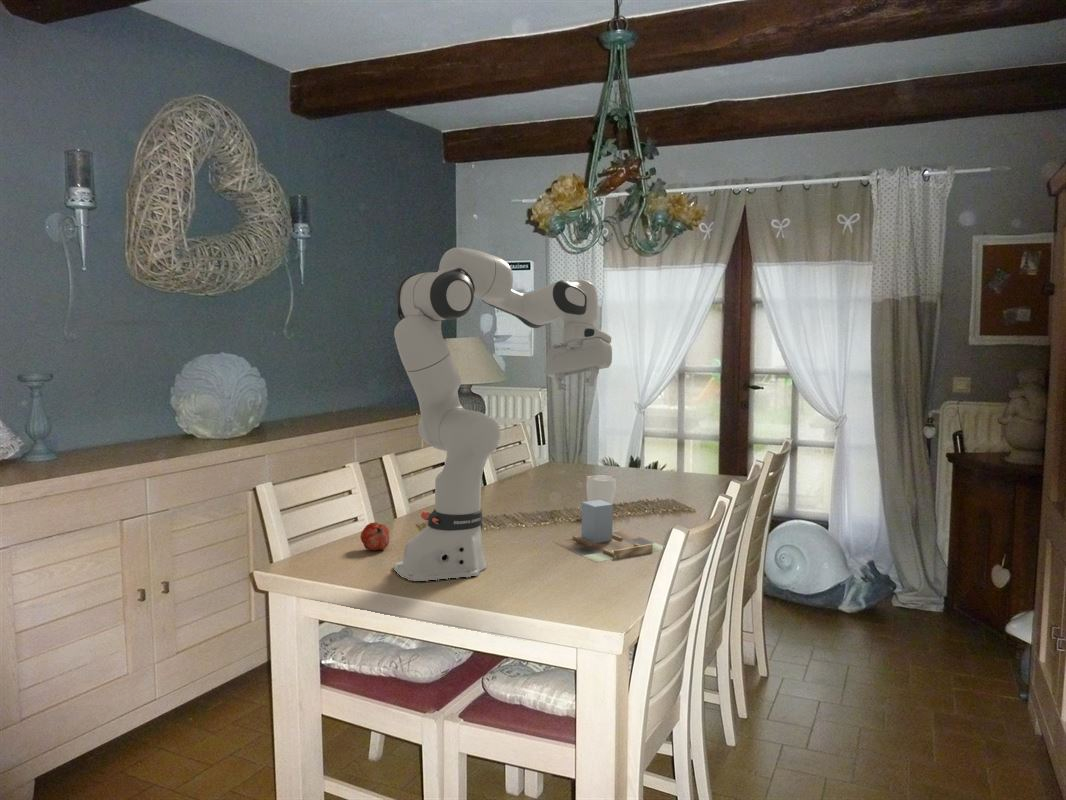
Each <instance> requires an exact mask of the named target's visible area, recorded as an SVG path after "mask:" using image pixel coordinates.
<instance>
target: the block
mask: <svg viewBox="0 0 1066 800" xmlns="http://www.w3.org/2000/svg"><path fill="white" fill-rule="evenodd" d="M613 507H614V503H613V504H610V503H608V502H605V501H602V500H595V501H588V500H587V501H582V502H581V534H580V537H581V538H583V539H585V540H587V541H590V542H592V543H599V542H606V541H612V532H613V517H614V515H613V514H614V513H613V512H614V511H613V509H614V508H613Z"/></svg>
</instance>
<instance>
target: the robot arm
mask: <svg viewBox="0 0 1066 800" xmlns="http://www.w3.org/2000/svg"><path fill="white" fill-rule="evenodd" d="M513 273H514V272H513V270H512V268H511V266H510V265H509V263H508V262H507V261H505V260H504V259H502V258H501V257H499V256H496V255H493V254H490V253H488V252H485V251H481V250H477V249H473V248H466V247H453V248H450V249H448V250H447V251H446V252H444V254H443V255H442V257H441V259H440V262H439V267H438V270H437V272H435V271H428V272H422V273H415V274H411V275H407V276H406V277H404V278H402V280H400V281H399V283H398V284H397V286H396V289H395V293H394V298H395V299H394V301H395V306H396V308H397V316H398V318H399V320H400V321H399V322H398V323H397V324H396V326H395V327H394V333H393V335H394V339H395V344H396V348H397V351H398V354H399V357H400V361H401V363H402V365H403V367H404V370H405V372H406V374H407V376H408V380H409V381H410V384H411V387H412V388H413V390H414V394H415V395H416V398H417V401H418V406H419V411H420V417H419V420H418V425H417V430H418V433H419V434H418V435H419V436H420V439H422V441H423V442H424V443H425V444H428V445H429V446H431V447H432V448H434V449H435V450H440V451H443V452H446V458H445V463H444V465H443V468H442V471H440V472H439V473H437V476H436V477H435V480H434V486H435V487H434V490H435V491H434V497H435V498H434V509H433V511H431V513H430V512H429V511H427V510H422V511H421V513H420V518H421V519H423V520H424V521H427V526H425V528H423V529H422V530H421V531H419V533H418V534H416V535H415V536H414V537H412V538H411V539H410V540H409V541H408V542H407V543H406V544H405V547H404V552H403V557H402V560H401V561H397V562H395V563H394V565H393V571H394V570H395V571H396V572H397V573H398V574H399V575H401V576H403V577H404V578H406V579H410V580H414V581H426V582H429V581H428V580H436V581H440V580H439V579H446V580H451V579H450V578H456V579H460V578H459V577H466V578H472V577H471V576H475V577H477V576H478V575H479V574H480V572H482V571H483V570H485V569H486V568H487V566H488V564H487V561H486V557H485V553H484V547H483V540H482V538H483V537H482V530H483V509H482V507H481V498H482V497H481V494H482V478H483V472H484V469H485V466H486V464H487V461H488V460H489V459H488V458H489V457H490V456H491V455H492V454H493V453H494V452H495V451H496V450H497V448H498V447H499V444H500V441H501V429H500V426H499V425H498V422H497V421H496V420H495V419H493V418H492V417H490V416H489V415H487V414H485V413H483V412H481V411H478V410H474V409H473V410H471V409H467V408H466V409H465V408H464V407H463V405H462V404H461V402H460V398H459V392H458V391H459V389H460V387H461V385H462V379H461V375H460V374H459V370H458V368H457V367H456V364H455V362H454V359H453V357H452V355H451V351H450V350H449V347H448V345H447V343H446V341H445V339H444V337H443V334H442V333H443V332H442V322H443V321H445V320H447V321H448V320H449V321H451V320H452V321H453V320H456V319H459V318H461V317H463V316H465V315H466V314H468V312H470V309H471V308H472V306H473V302H474V298H476V299H479V300H481V301H482V302H483V303H484V304H486V305H488V306H490V307H492V308H494V309H497V310H499V311H501V312H504V313H507V314H509V315H511V316H513V317H514V318H515V317H516V319H518V320H519V321H520V322H522V323H523V324H524V325H526V326H527V327H529V328H531V329H539V328H542V327H544V326H546V325H548V324H550V323H554V322H556V321H559V320H561V321H563V323H564V325H563V328H562V329H563V330H562V331H563V332H562V343H561V342H560V343H558V344H557V343H556V344H554V345H552V346H551V347H550V349H549V350H548V351H547V356H546V359H545V360H546V361H545V367H544V374H545V375H546V376H548V377H549V378H552V379H555V381H556V384H557V391H559V392H565V391H566V389H567V385H566V384H565V383H564V382H563V380H564V379H565V377H567V376H573V375H577V374H583V373H587V372H590V374H589V376H588V377H586V378H585V386H587V387H593V386H595V380H596V379H597V377H598V375H599V374H600V373H599V372H600V370H603V369H608V368H609V367H610V366H611V365H612V362H613V348H612V345H611V342H612V336H610V335H609V334H608V333H606V332H604V331H603V330H601V329H598V328H597V325H596V321H597V318H598V309H599V306H598V305H599V304H598V303H599V302H598V301H599V300H598V297H599V296H598V292H597V288H596V286H595V285H594V284H593V283H592V282H590V281H588V280H586V279H575V280H572V281H568V280H563V279H562V280H558V281H555V282H552V283H549V284H547V285H544V286H542V287H539V288H537V289H534V290H532V291H527V292H522V293H521V292H518V291H516V290H514V289H513V285H514V284H513V283H514V275H513ZM395 571H394V572H395ZM396 572H395V573H396ZM398 574H397V575H398ZM399 575H398V576H399ZM404 578H403V579H404ZM448 578H449V579H448ZM406 579H405V580H406ZM437 579H438V580H437Z"/></svg>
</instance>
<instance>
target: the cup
mask: <svg viewBox="0 0 1066 800" xmlns="http://www.w3.org/2000/svg"><path fill="white" fill-rule="evenodd" d="M585 487H586V488H585V489H586V496H587V497H586V498H587V501H595V500H602V501H605V502H608V503H610V504H613V505H614V498H615V494H616V493H615V492H616V478H615V477H614V476H612V475H605V474H604V475H603V474H593V475H588V476H586V486H585Z"/></svg>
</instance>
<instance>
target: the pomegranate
mask: <svg viewBox="0 0 1066 800" xmlns="http://www.w3.org/2000/svg"><path fill="white" fill-rule="evenodd" d="M389 533H390V531H389V528H388V526H387V525H385V524H380V523H378V522H370V523H369V524H367V525H366V526H365V527H364V528H363V529H362V531H361V533H360V541H361V543H363V546H364V548H365V549H367V550H368V551H371V550H374V551H379V550H381V549H382V550H385V549H386V548H387V547H388V546H389V543H390V534H389Z"/></svg>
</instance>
